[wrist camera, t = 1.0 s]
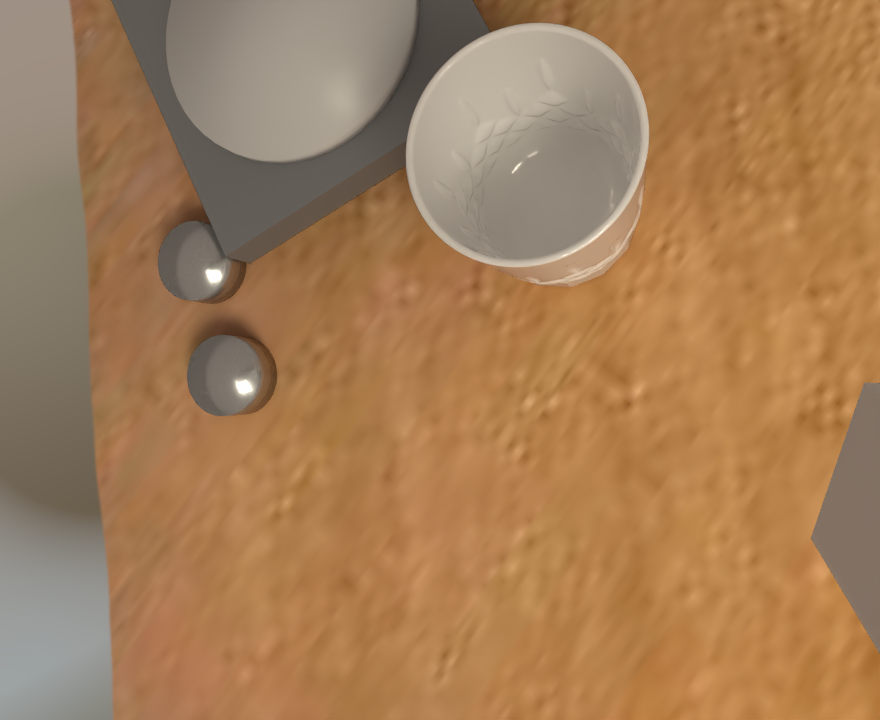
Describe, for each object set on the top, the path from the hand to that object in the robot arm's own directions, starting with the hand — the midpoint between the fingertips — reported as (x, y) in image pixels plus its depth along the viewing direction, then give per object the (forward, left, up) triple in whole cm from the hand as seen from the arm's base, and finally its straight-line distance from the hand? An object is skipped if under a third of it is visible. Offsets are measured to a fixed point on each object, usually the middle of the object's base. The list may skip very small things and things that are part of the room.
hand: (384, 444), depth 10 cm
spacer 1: (+14, -15, -23) cm, 30 cm away
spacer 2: (+15, -9, -23) cm, 29 cm away
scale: (+4, -22, -23) cm, 32 cm away
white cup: (-3, -8, -23) cm, 24 cm away
